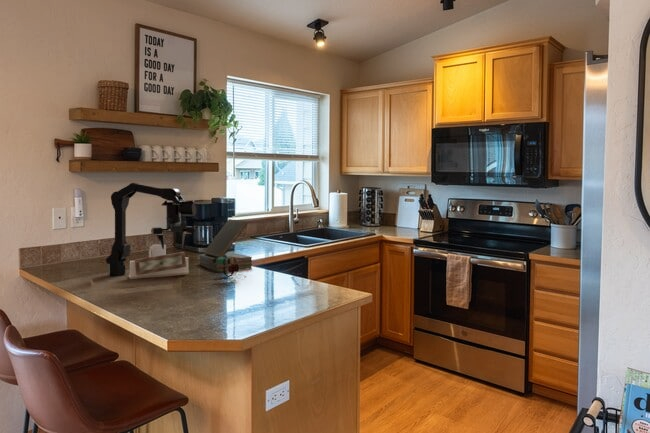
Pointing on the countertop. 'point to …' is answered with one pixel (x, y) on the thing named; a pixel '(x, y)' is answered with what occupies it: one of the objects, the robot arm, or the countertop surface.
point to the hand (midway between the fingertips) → (173, 248)
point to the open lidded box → (225, 247)
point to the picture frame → (160, 263)
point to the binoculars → (226, 261)
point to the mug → (157, 250)
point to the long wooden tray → (158, 274)
